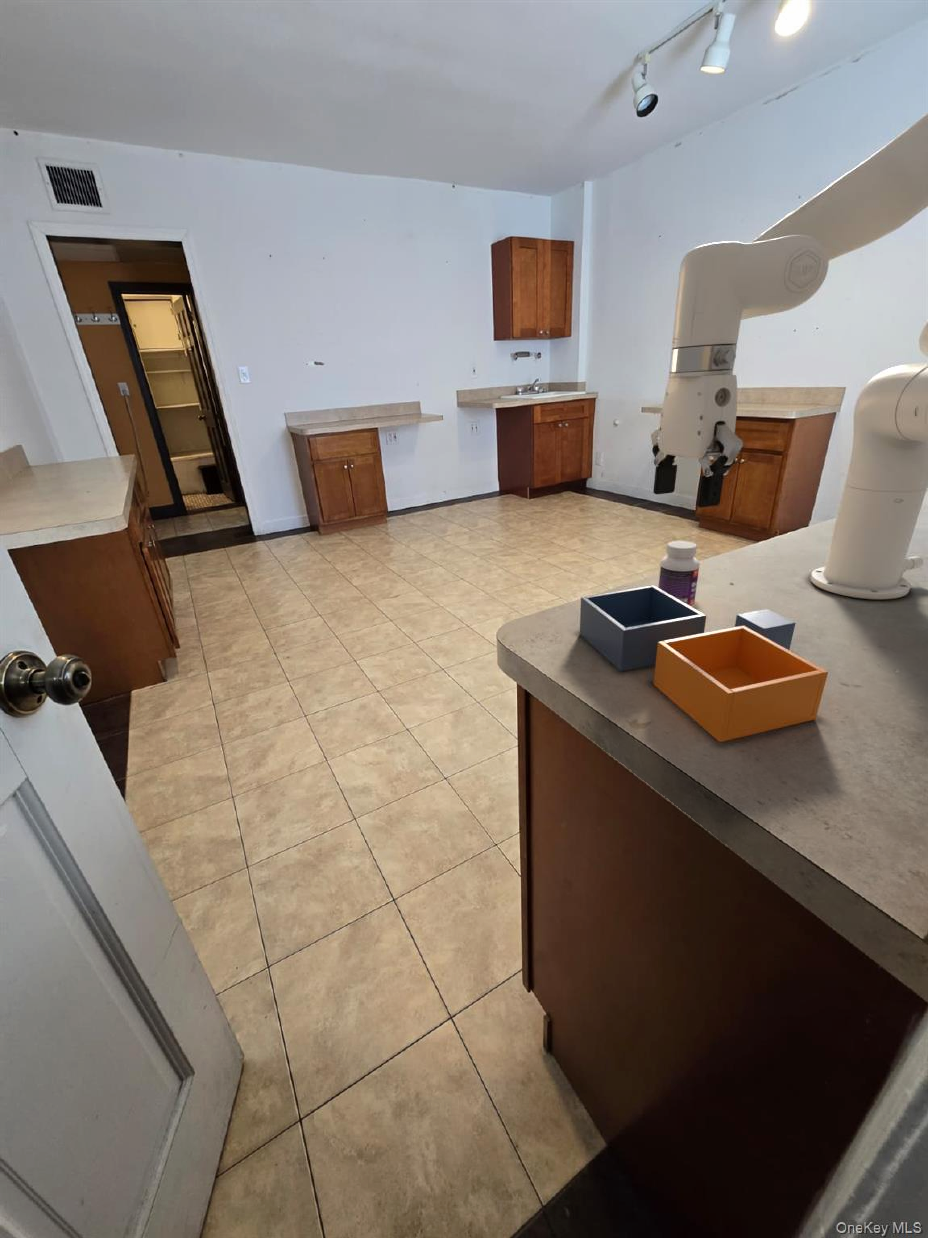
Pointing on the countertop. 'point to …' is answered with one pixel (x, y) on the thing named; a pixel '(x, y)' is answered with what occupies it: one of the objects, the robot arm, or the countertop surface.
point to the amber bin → (738, 682)
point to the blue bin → (636, 624)
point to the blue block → (768, 626)
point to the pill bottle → (680, 571)
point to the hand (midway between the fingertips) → (684, 499)
